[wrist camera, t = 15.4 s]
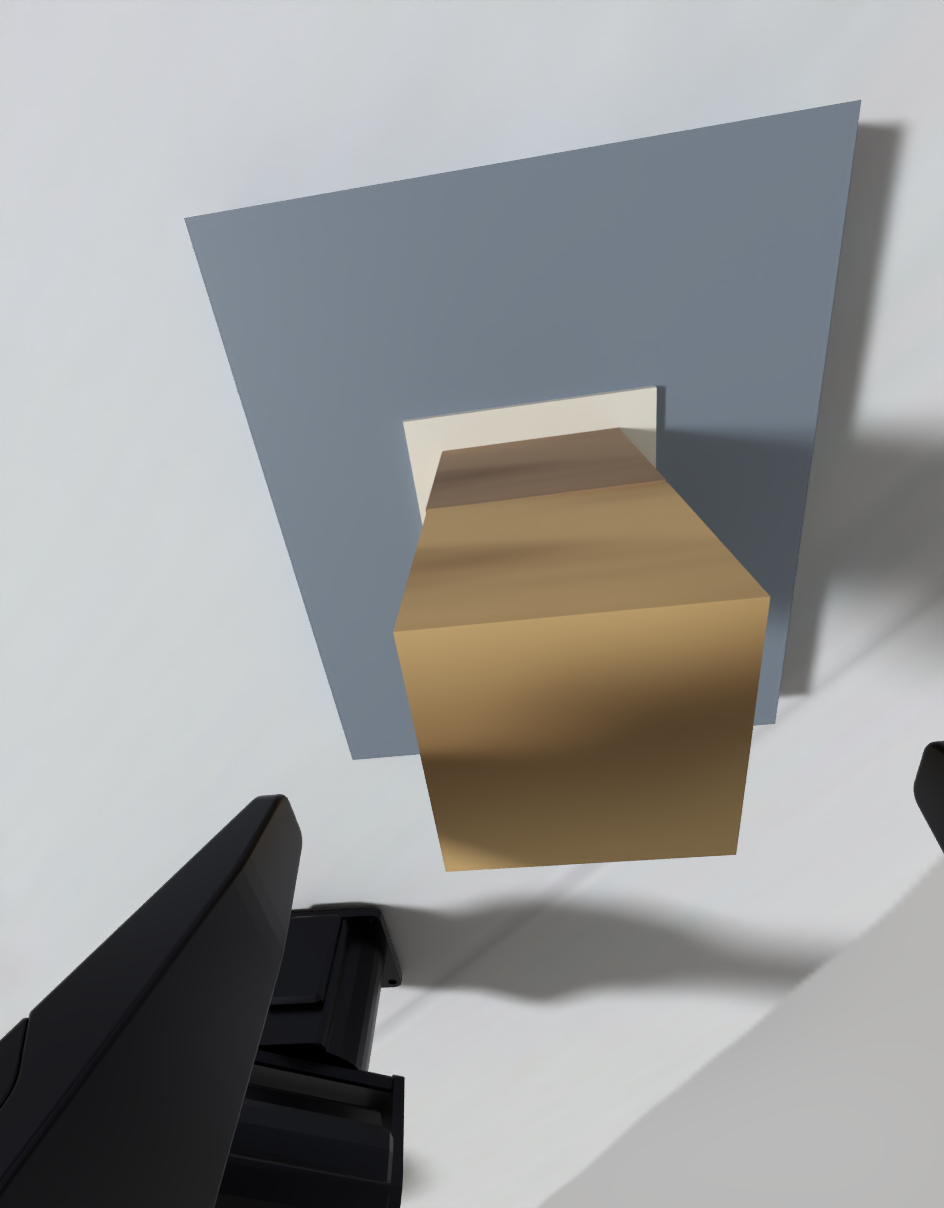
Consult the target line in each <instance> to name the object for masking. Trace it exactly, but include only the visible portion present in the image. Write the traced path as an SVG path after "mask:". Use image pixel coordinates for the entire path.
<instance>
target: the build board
mask: <svg viewBox="0 0 944 1208" xmlns="http://www.w3.org/2000/svg"><path fill="white" fill-rule="evenodd" d="M860 105H861V100H857V101H852V102H846V103H840V104H835V105H829V106H823V107H817V108H812V109H806V110H800V111H795V112H789V113H783V114H777V115H772V116H766V117H760V118H755V119H749V120H743V121H737V122H732V123H726V124H720V125H715V126H709V127H703V128H697V129H692V130H686V131H680V132H675V133H669V134H663V135H657V136H652V137H646V138H640V139H635V140H629V141H623V142H617V143H612V144H606V145H600V146H595V147H589V148H583V149H577V150H572V151H566V152H560V153H554V154H549V155H543V156H537V157H532V158H526V159H520V160H514V161H509V162H503V163H497V164H492V165H486V166H480V167H474V168H469V169H463V170H457V171H452V172H446V173H440V174H434V175H429V176H423V177H417V178H412V179H406V180H400V181H394V182H389V183H383V184H377V185H372V186H366V187H360V188H354V189H349V190H343V191H337V192H332V193H326V194H320V195H314V196H309V197H303V198H297V199H292V200H286V201H280V202H274V203H269V204H263V205H257V206H251V207H246V208H240V209H234V210H229V211H223V212H217V213H211V214H206V215H200V216H194V217H189V218H184V219H185V223H186V226H187V229H188V232H189V235H190V239H191V242H192V245H193V248H194V252H195V255H196V258H197V261H198V264H199V268H200V271H201V274H202V277H203V280H204V284H205V287H206V290H207V293H208V296H209V300H210V303H211V306H212V309H213V313H214V316H215V319H216V322H217V325H218V329H219V332H220V335H221V338H222V341H223V345H224V348H225V351H226V354H227V357H228V361H229V364H230V367H231V370H232V374H233V377H234V380H235V383H236V386H237V390H238V393H239V396H240V399H241V402H242V406H243V409H244V412H245V415H246V419H247V422H248V425H249V428H250V431H251V435H252V438H253V441H254V444H255V447H256V451H257V454H258V457H259V460H260V463H261V467H262V470H263V473H264V476H265V480H266V483H267V486H268V489H269V492H270V496H271V499H272V502H273V505H274V508H275V512H276V515H277V518H278V521H279V524H280V528H281V531H282V534H283V537H284V541H285V544H286V547H287V550H288V553H289V557H290V560H291V563H292V566H293V569H294V573H295V576H296V579H297V582H298V585H299V589H300V592H301V595H302V598H303V602H304V605H305V608H306V611H307V614H308V618H309V621H310V624H311V627H312V630H313V634H314V637H315V640H316V643H317V647H318V650H319V653H320V656H321V659H322V663H323V666H324V669H325V672H326V675H327V679H328V682H329V685H330V688H331V691H332V695H333V698H334V701H335V704H336V708H337V711H338V714H339V717H340V720H341V724H342V727H343V730H344V733H345V736H346V740H347V743H348V746H349V749H350V752H351V756H352V759H353V760H357V759H369V758H381V757H392V756H404V755H416V754H420V752H419V747H418V743H417V738H416V734H415V729H414V724H413V720H412V715H411V711H410V706H409V702H408V697H407V693H406V688H405V684H404V679H403V675H402V670H401V665H400V661H399V656H398V652H397V647H396V643H395V638H394V634H393V631H394V627H395V623H396V620H397V616H398V613H399V609H400V606H401V602H402V598H403V595H404V591H405V588H406V584H407V580H408V577H409V573H410V570H411V566H412V562H413V559H414V555H415V552H416V548H417V545H418V541H419V537H420V534H421V530H422V527H423V523H424V519H425V516H426V511H425V510H426V506H427V503H428V499H429V496H430V492H431V489H432V485H433V482H434V478H435V475H436V471H437V468H438V464H439V461H440V457H441V454H442V451H447V450H455V449H462V448H469V447H477V446H484V445H492V444H499V443H507V442H514V441H521V440H529V439H536V438H544V437H551V436H559V435H566V434H573V433H581V432H588V431H596V430H603V429H611V428H618V427H619V428H620V429H621V431H622V432H623V433H624V434H625V435H626V436H627V437H628V438H629V439H630V441H631V442H632V443H633V444H634V445H635V446H636V447H637V448H638V449H639V451H640V452H641V453H642V454H643V455H644V456H645V457H646V458H647V459H648V461H649V462H650V463H651V464H652V465H653V466H654V467H655V468H656V469H657V471H658V472H659V473H660V474H661V475H662V476H663V477H664V478H665V479H666V483H669V484H670V485H671V487H672V488H673V489H674V490H675V491H676V492H677V493H678V494H679V495H680V497H681V498H682V499H683V500H684V501H685V502H686V503H687V504H688V505H689V507H690V508H691V509H692V510H693V511H694V512H695V513H696V514H697V516H698V517H699V518H700V519H701V520H702V521H703V522H704V523H705V524H706V526H707V527H708V528H709V529H710V530H711V531H712V532H713V533H714V534H715V536H716V537H717V538H718V539H719V540H720V541H721V542H722V543H723V544H724V546H725V547H726V548H727V549H728V550H729V551H730V552H731V553H732V554H733V556H734V557H735V558H736V559H737V560H738V561H739V562H740V563H741V564H742V566H743V567H744V568H745V569H746V570H747V571H748V572H749V573H750V575H751V576H752V577H753V578H754V579H755V580H756V581H757V582H758V583H759V585H760V586H761V587H762V588H763V589H764V590H765V591H766V592H767V593H768V595H769V596H770V603H769V611H768V618H767V626H766V633H765V641H764V648H763V656H762V663H761V671H760V678H759V686H758V693H757V701H756V708H755V716H754V724H753V726H754V725H765V724H775V720H776V713H777V705H778V698H779V691H780V684H781V677H782V669H783V662H784V655H785V648H786V640H787V633H788V626H789V619H790V611H791V604H792V597H793V590H794V582H795V575H796V568H797V561H798V554H799V546H800V539H801V532H802V525H803V517H804V510H805V503H806V496H807V488H808V481H809V474H810V467H811V459H812V452H813V445H814V438H815V431H816V423H817V416H818V409H819V402H820V394H821V387H822V380H823V373H824V365H825V358H826V351H827V344H828V336H829V329H830V322H831V315H832V308H833V300H834V293H835V286H836V279H837V271H838V264H839V257H840V250H841V242H842V235H843V228H844V221H845V213H846V206H847V199H848V192H849V185H850V177H851V170H852V163H853V156H854V148H855V141H856V134H857V127H858V119H859V112H860Z"/></svg>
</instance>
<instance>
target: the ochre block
mask: <svg viewBox="0 0 944 1208" xmlns="http://www.w3.org/2000/svg"><path fill="white" fill-rule="evenodd" d="M769 603H770V596H769V595H768V593H767V592H766V591H765V590H764V589H763V588H762V587H761V586H760V585H759V583H758V582H757V581H756V580H755V579H754V578H753V577H752V576H751V575H750V573H749V572H748V571H747V570H746V569H745V568H744V567H743V566H742V564H741V563H740V562H739V561H738V560H737V559H736V558H735V557H734V556H733V554H732V553H731V552H730V551H729V550H728V549H727V548H726V547H725V546H724V544H723V543H722V542H721V541H720V540H719V539H718V538H717V537H716V536H715V534H714V533H713V532H712V531H711V530H710V529H709V528H708V527H707V526H706V524H705V523H704V522H703V521H702V520H701V519H700V518H699V517H698V516H697V514H696V513H695V512H694V511H693V510H692V509H691V508H690V507H689V505H688V504H687V503H686V502H685V501H684V500H683V499H682V498H681V497H680V495H679V494H678V493H677V492H676V491H675V490H674V489H673V488H672V487H671V485H670V484H669V483H659V484H650V485H641V486H632V487H623V488H614V489H605V490H596V491H587V492H578V493H569V494H560V495H551V496H542V497H533V498H524V499H515V500H506V501H497V502H488V503H479V504H470V505H461V506H452V507H443V508H434V509H427V512H426V516H425V519H424V523H423V527H422V530H421V534H420V537H419V541H418V545H417V548H416V552H415V555H414V559H413V562H412V566H411V570H410V573H409V577H408V580H407V584H406V588H405V591H404V595H403V598H402V602H401V606H400V609H399V613H398V616H397V620H396V623H395V627H394V631H393V634H394V638H395V643H396V647H397V652H398V656H399V661H400V665H401V670H402V675H403V679H404V684H405V688H406V693H407V697H408V702H409V706H410V711H411V715H412V720H413V724H414V729H415V734H416V738H417V743H418V747H419V752H420V756H421V761H422V765H423V770H424V774H425V779H426V783H427V788H428V792H429V797H430V802H431V806H432V811H433V815H434V820H435V824H436V829H437V833H438V838H439V842H440V847H441V851H442V856H443V861H444V865H445V870H446V872H449V871H466V870H483V869H500V868H517V867H534V866H551V865H568V864H585V863H602V862H619V861H636V860H653V859H670V858H687V857H704V856H721V855H736V852H737V844H738V837H739V829H740V822H741V814H742V806H743V799H744V791H745V784H746V776H747V769H748V761H749V754H750V746H751V739H752V731H753V724H754V716H755V708H756V701H757V693H758V686H759V678H760V671H761V663H762V656H763V648H764V641H765V633H766V626H767V618H768V611H769Z"/></svg>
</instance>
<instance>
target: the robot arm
mask: <svg viewBox="0 0 944 1208" xmlns="http://www.w3.org/2000/svg"><path fill="white" fill-rule="evenodd" d="M914 796H915V799H916V802H917V804H918V807H919V808H920V810H921V812H922V814H923V816H924V818H925V820H926V821H927V823H928V825H929V827H930V829H931V831H932V833H933V834H934V836H935V838H936V840H937V842H938V844H939V846H940V847H941V849H942V851H943V853H944V741H936V742H932V743H929V744H928V745H927V746H926V747H925V749H924V752H923V756H922V759H921V762H920V765H919V769H918V772H917V775H916V779H915V782H914ZM301 850H302V834H301V830H300V827H299V825H298V822H297V820H296V817H295V815H294V812H293V810H292V807H291V805H290V802H289V800H288V798H287V797H286V796H284V795H281V794H277V795H265V796H259V797H257V798H255V799H254V800H252V801H251V802H250V803H249V804H248V805H247V806H246V807H245V808H244V809H243V810H242V811H241V812H240V813H239V814H238V815H237V816H236V817H234V818H233V819H232V820H231V821H230V822H229V823H228V824H227V825H226V826H225V827H224V828H223V829H222V830H221V831H220V832H219V833H218V834H217V835H216V836H215V837H213V838H212V839H211V840H210V841H209V842H208V843H207V844H206V845H205V846H204V847H203V848H202V849H201V850H200V851H199V852H198V853H197V854H196V855H195V856H193V857H192V858H191V859H190V860H189V861H188V862H187V863H186V864H185V865H184V866H183V867H182V868H181V869H180V870H179V871H178V872H177V873H176V874H175V875H174V876H172V877H171V878H170V879H169V880H168V881H167V882H166V883H165V884H164V885H163V886H162V887H161V888H160V889H159V890H158V891H157V892H156V893H155V894H154V895H153V896H151V897H150V898H149V899H148V900H147V901H146V902H145V903H144V904H143V905H142V906H141V907H140V908H139V909H138V910H137V911H136V912H135V913H134V914H133V915H131V916H130V917H129V918H128V919H127V920H126V921H125V922H124V923H123V924H122V925H121V926H120V927H119V928H118V929H117V930H116V931H115V932H114V933H113V934H112V935H110V936H109V937H108V938H107V939H106V940H105V941H104V942H103V943H102V944H101V945H100V946H99V947H98V948H97V949H96V950H95V951H94V952H93V953H92V954H91V955H89V956H88V957H87V958H86V959H85V960H84V961H83V962H82V963H81V964H80V965H79V966H78V967H77V968H76V969H75V970H74V971H73V972H72V973H71V974H69V975H68V976H67V977H66V978H65V979H64V980H63V981H62V982H61V983H60V984H59V985H58V986H57V987H56V988H55V989H54V990H53V991H52V992H51V993H50V994H48V995H47V996H46V997H45V998H44V999H43V1000H42V1001H41V1002H40V1003H39V1004H38V1005H37V1006H36V1007H35V1008H34V1009H33V1010H32V1011H31V1012H30V1014H29V1018H23V1019H22V1020H21V1021H20V1022H19V1023H18V1024H17V1025H16V1026H15V1027H14V1028H12V1029H11V1030H10V1031H9V1032H8V1033H7V1034H6V1035H5V1036H4V1037H3V1038H2V1039H1V1040H0V1208H400V1205H401V1195H402V1182H403V1139H404V1080H405V1079H404V1077H403V1076H398V1075H392V1077H391V1076H386V1075H381V1074H377V1073H372V1072H368V1068H369V1062H370V1055H371V1049H372V1042H373V1036H374V1029H375V1023H376V1017H377V1010H378V1004H379V997H380V991H381V988H385V987H397V986H399V985H401V982H402V972H401V969H400V966H399V963H398V960H397V957H396V954H395V951H394V948H393V945H392V942H391V939H390V936H389V933H388V930H387V927H386V924H385V921H384V918H383V915H382V913H381V911H379V910H378V909H375V908H365V909H349V910H333V911H317V912H301V913H291V909H292V903H293V897H294V891H295V885H296V879H297V873H298V867H299V862H300V856H301Z"/></svg>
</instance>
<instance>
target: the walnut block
mask: <svg viewBox="0 0 944 1208" xmlns="http://www.w3.org/2000/svg"><path fill="white" fill-rule="evenodd" d="M659 483H666V479H665V478H664V477H663V476H662V475H661V474H660V473H659V472H658V471H657V469H656V468H655V467H654V466H653V465H652V464H651V463H650V462H649V461H648V459H647V458H646V457H645V456H644V455H643V454H642V453H641V452H640V451H639V449H638V448H637V447H636V446H635V445H634V444H633V443H632V442H631V441H630V439H629V438H628V437H627V436H626V435H625V434H624V433H623V432H622V431H621V429H620V428H619V427H618V428H611V429H603V430H596V431H588V432H581V433H573V434H566V435H559V436H551V437H544V438H536V439H529V440H521V441H514V442H507V443H499V444H492V445H484V446H477V447H469V448H462V449H455V450H447V451H442V454H441V457H440V461H439V464H438V468H437V471H436V475H435V478H434V482H433V485H432V489H431V492H430V496H429V499H428V503H427V506H426V510H425V511H426V512H427V509H434V508H443V507H452V506H461V505H470V504H479V503H488V502H497V501H506V500H515V499H524V498H533V497H542V496H551V495H560V494H569V493H578V492H587V491H596V490H605V489H614V488H623V487H632V486H641V485H650V484H659Z"/></svg>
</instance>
